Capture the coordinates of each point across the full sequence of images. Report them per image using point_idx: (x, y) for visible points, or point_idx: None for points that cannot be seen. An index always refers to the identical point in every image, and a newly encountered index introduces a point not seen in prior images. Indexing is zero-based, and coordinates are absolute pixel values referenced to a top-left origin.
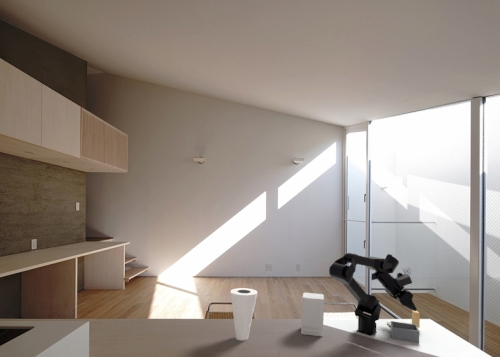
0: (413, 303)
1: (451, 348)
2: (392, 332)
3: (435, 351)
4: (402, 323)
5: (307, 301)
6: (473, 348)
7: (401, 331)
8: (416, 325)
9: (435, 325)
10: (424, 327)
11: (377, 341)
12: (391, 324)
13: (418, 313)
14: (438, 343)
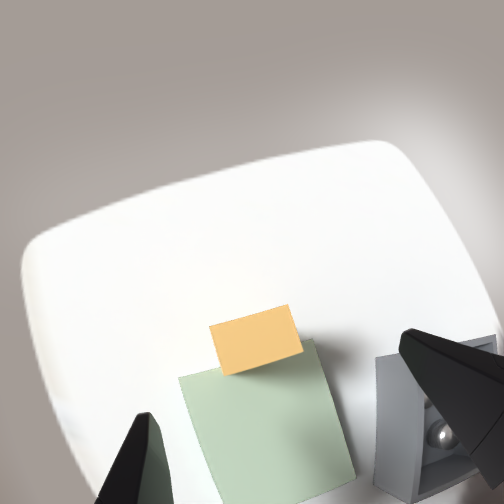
0: (494, 355)
1: (423, 219)
2: None
3: (478, 286)
4: (421, 438)
5: None
6: (370, 143)
7: None
8: None
9: (112, 214)
10: (169, 284)
11: (474, 491)
12: (459, 482)
13: (290, 316)
14: (403, 258)
